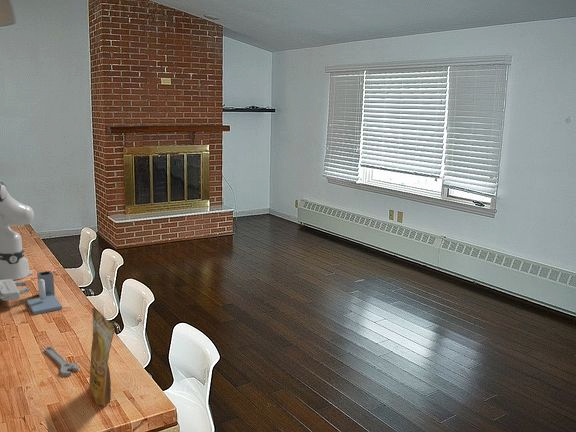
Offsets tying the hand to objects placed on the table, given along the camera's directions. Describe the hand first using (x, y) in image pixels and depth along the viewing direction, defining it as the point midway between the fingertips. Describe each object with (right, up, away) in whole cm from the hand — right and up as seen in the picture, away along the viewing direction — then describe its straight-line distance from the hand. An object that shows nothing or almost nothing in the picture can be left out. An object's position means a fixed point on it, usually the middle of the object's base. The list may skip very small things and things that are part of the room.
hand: (27, 286), depth 259 cm
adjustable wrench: (+40, -21, -57) cm, 73 cm away
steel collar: (+7, -5, +6) cm, 10 cm away
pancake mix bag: (+63, -26, -78) cm, 103 cm away
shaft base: (+11, -8, -7) cm, 16 cm away
